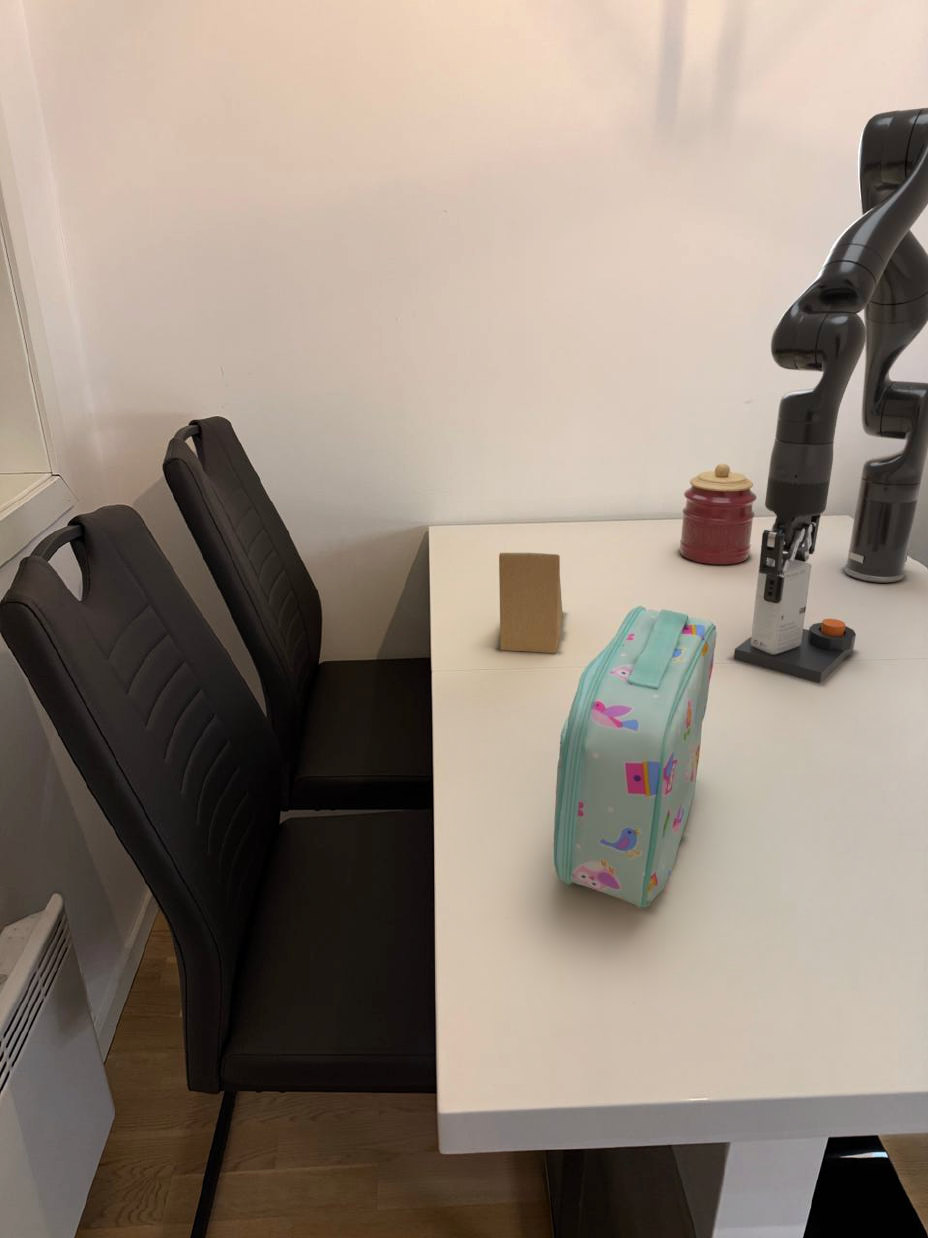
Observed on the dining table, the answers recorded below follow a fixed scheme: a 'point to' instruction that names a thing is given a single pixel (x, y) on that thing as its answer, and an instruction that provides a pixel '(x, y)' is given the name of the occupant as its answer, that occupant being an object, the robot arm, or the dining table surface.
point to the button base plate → (803, 654)
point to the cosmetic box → (781, 611)
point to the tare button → (833, 627)
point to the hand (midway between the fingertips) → (782, 593)
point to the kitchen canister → (718, 517)
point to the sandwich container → (530, 602)
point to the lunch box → (633, 755)
